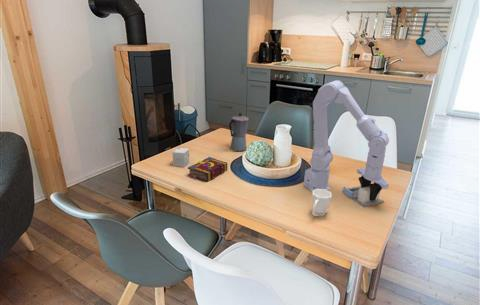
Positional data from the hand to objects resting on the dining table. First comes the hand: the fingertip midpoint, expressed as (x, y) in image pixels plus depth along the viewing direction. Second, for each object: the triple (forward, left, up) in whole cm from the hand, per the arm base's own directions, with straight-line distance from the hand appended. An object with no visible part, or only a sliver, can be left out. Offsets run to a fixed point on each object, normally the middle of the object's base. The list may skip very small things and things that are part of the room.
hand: (368, 197), depth 124 cm
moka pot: (-28, +68, -2) cm, 74 cm away
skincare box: (-62, +58, -2) cm, 85 cm away
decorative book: (-52, +44, -2) cm, 69 cm away
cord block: (0, 0, -1) cm, 1 cm away
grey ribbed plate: (0, +3, -2) cm, 4 cm away
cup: (-24, -2, -2) cm, 24 cm away
